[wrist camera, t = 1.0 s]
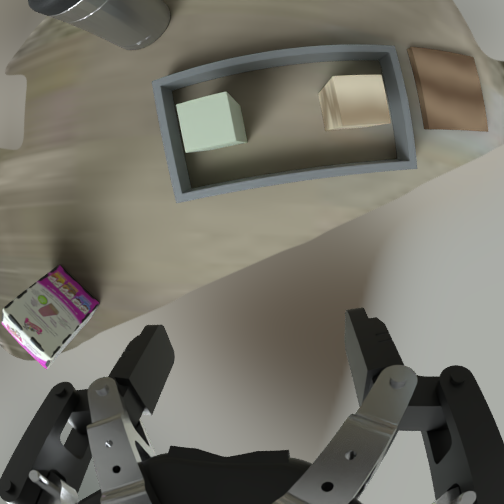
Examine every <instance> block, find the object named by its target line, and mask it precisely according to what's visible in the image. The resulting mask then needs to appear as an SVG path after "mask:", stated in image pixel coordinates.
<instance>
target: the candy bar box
mask: <svg viewBox="0 0 504 504" xmlns="http://www.w3.org/2000/svg"><path fill="white" fill-rule="evenodd" d="M99 304H100V303H99V302H98V301H97V300H96V299H95V298H94V297H92V296H91V295H90V294H89V293H88V292H87V291H86V290H85V289H84V288H83V287H82V286H81V285H79V284H78V283H77V282H76V281H75V280H74V279H73V278H72V277H71V276H70V275H69V274H68V273H67V272H66V271H65V270H64V269H63V268H62V267H61V266H60V265H59V266H57V267H56V268H54V269H53V270H52V271H50V272H49V273H47V274H46V275H45V276H43V277H42V278H41V279H39V280H38V281H37V282H36V283H34V284H33V285H32V286H30V287H29V288H28V289H26V290H25V291H24V292H23V293H21V294H20V295H19V296H18V297H16V298H15V299H14V300H13V301H11V302H10V303H9V304H8V305H6V306H5V307H4V308H3V315H2V319H3V320H2V325H3V326H4V327H5V328H6V329H7V330H8V331H9V332H10V334H11V335H12V336H13V337H14V338H15V339H16V340H17V341H18V342H19V343H20V344H21V345H22V346H23V348H24V349H25V350H26V351H27V352H28V353H29V354H30V355H31V356H33V357H34V358H35V359H36V360H37V361H38V362H39V363H40V364H41V365H42V366H43V367H44V368H45V369H48V368H49V366H50V365H51V364H52V363H53V361H54V360H55V359H56V358H57V356H58V355H59V354H60V353H61V352H62V350H63V349H64V348H65V347H66V346H67V345H68V343H69V342H70V341H71V340H72V339H73V338H74V337H75V335H76V334H77V333H78V332H79V331H80V330H81V329H82V327H83V326H84V325H85V324H86V323H87V322H88V321H89V320H90V318H91V317H92V316H93V314H94V312H95V311H96V309H97V307H98V306H99Z"/></svg>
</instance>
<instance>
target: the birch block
mask: <svg viewBox="0 0 504 504" xmlns="http://www.w3.org/2000/svg"><path fill="white" fill-rule="evenodd" d="M318 95H319V100H320V105H321V110H322V115H323V121H324V126H325V131H330V130H341V129H353V128H364V127H370V126H376V125H382V124H388V123H391V121H390V115H389V109H388V104H387V99H386V94H385V89H384V84H383V80H382V76H381V75H344V76H332V78H331V79H330V80H329V81H328V83H327V84H326V85H325V86H324V87H323V89H322V90H321V91H320V92H319V94H318Z"/></svg>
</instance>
